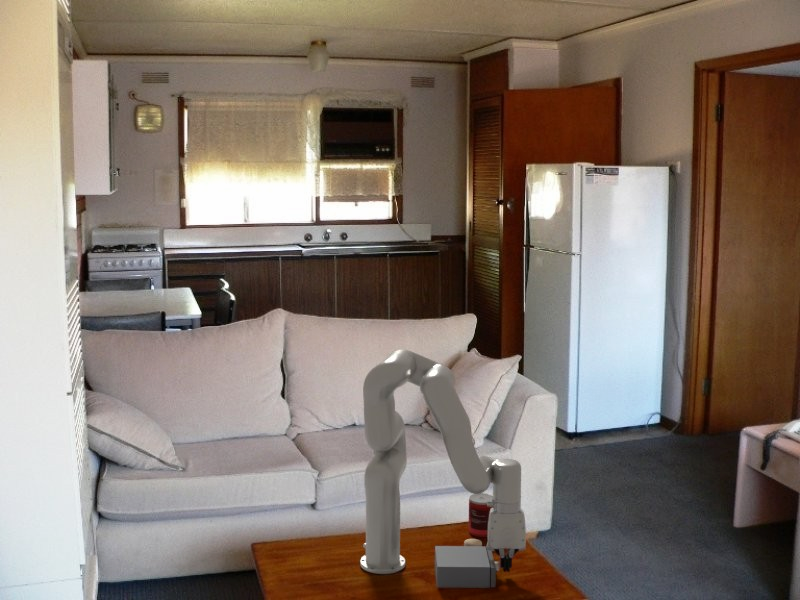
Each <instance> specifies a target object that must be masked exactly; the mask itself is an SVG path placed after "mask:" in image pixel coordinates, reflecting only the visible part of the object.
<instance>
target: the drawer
mask: <svg viewBox="0 0 800 600" xmlns="http://www.w3.org/2000/svg"><path fill="white" fill-rule="evenodd" d="M486 551H487V555H488V560H489V564H490V588H496V578H497V577H496V572H499V571H500V561H495V560H494V555H493V551H491V550H487V548H486Z"/></svg>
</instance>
